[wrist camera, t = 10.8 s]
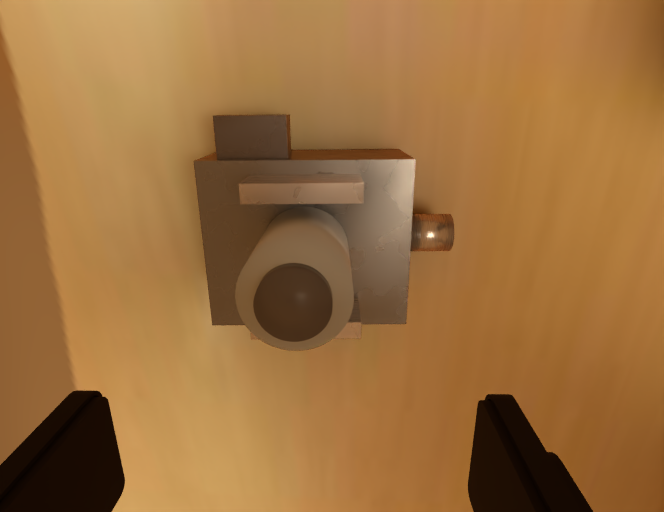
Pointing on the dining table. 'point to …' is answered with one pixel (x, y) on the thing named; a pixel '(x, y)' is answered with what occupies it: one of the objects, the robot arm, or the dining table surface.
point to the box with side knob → (318, 192)
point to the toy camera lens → (297, 281)
